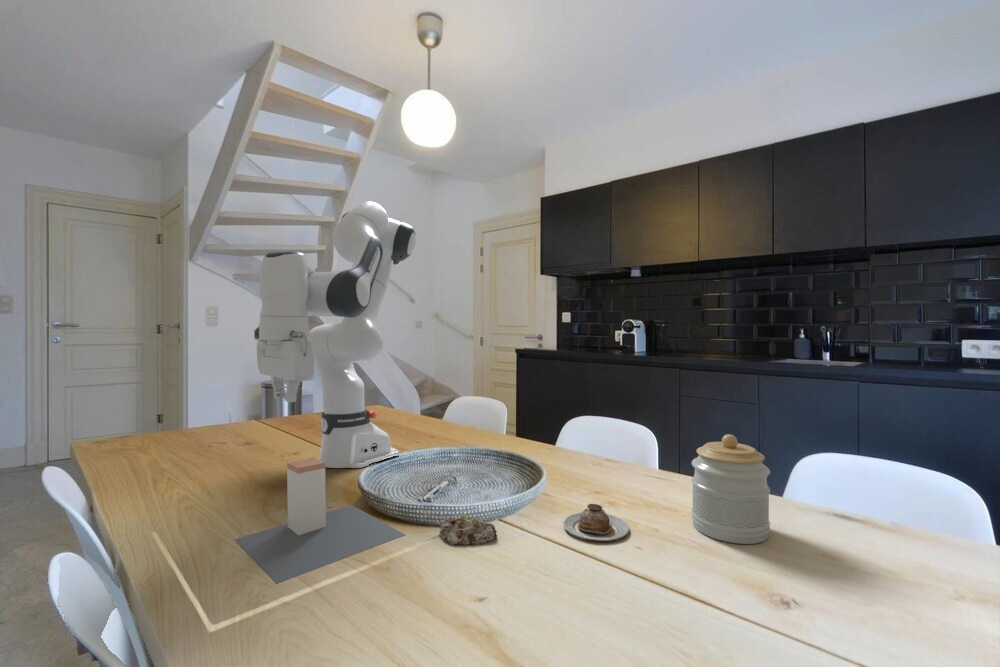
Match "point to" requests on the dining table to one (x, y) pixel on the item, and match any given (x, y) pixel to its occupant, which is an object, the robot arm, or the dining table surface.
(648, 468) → the dining table surface
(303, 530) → the cream block
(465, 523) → the mineral rock
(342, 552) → the rubber mat
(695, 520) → the jar
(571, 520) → the pastry
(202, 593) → the dining table surface
